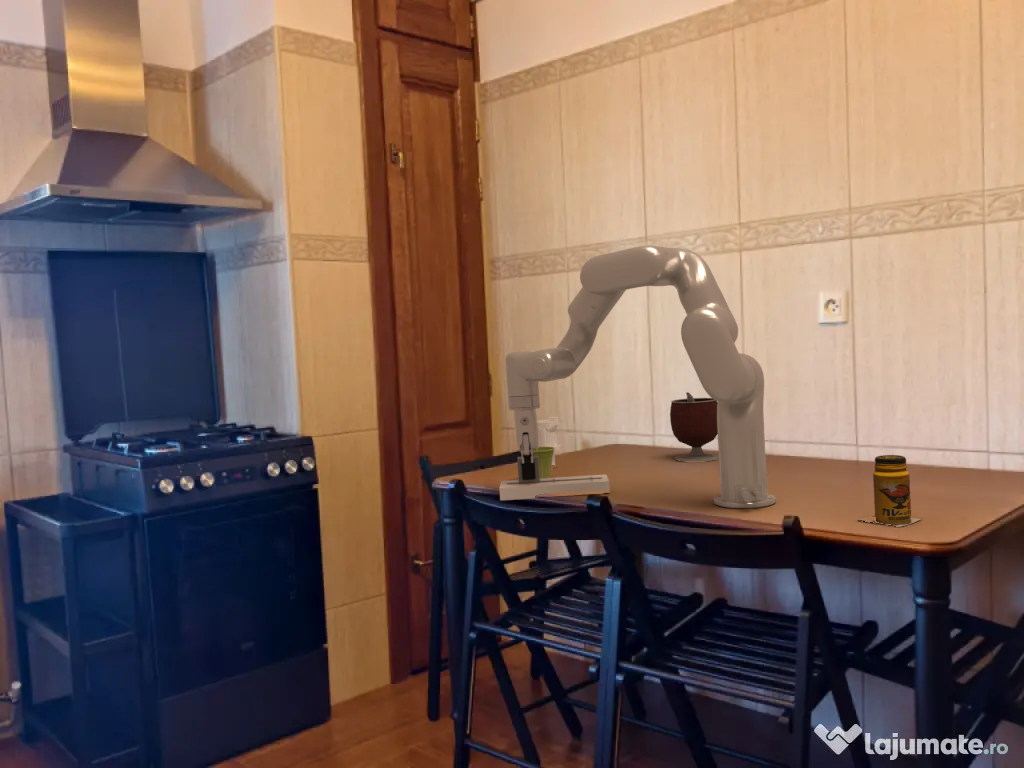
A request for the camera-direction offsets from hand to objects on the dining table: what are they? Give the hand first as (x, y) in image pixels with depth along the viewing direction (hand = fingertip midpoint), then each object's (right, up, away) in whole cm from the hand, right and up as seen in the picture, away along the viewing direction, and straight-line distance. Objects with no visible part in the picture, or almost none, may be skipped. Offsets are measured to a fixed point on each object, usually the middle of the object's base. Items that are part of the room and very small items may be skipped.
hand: (529, 477), depth 205 cm
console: (+6, -4, 0) cm, 7 cm away
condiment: (+65, -3, -50) cm, 82 cm away
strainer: (+7, -2, +39) cm, 40 cm away
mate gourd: (+49, +1, +37) cm, 61 cm away
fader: (0, -1, 0) cm, 1 cm away
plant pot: (+3, -3, +19) cm, 20 cm away
